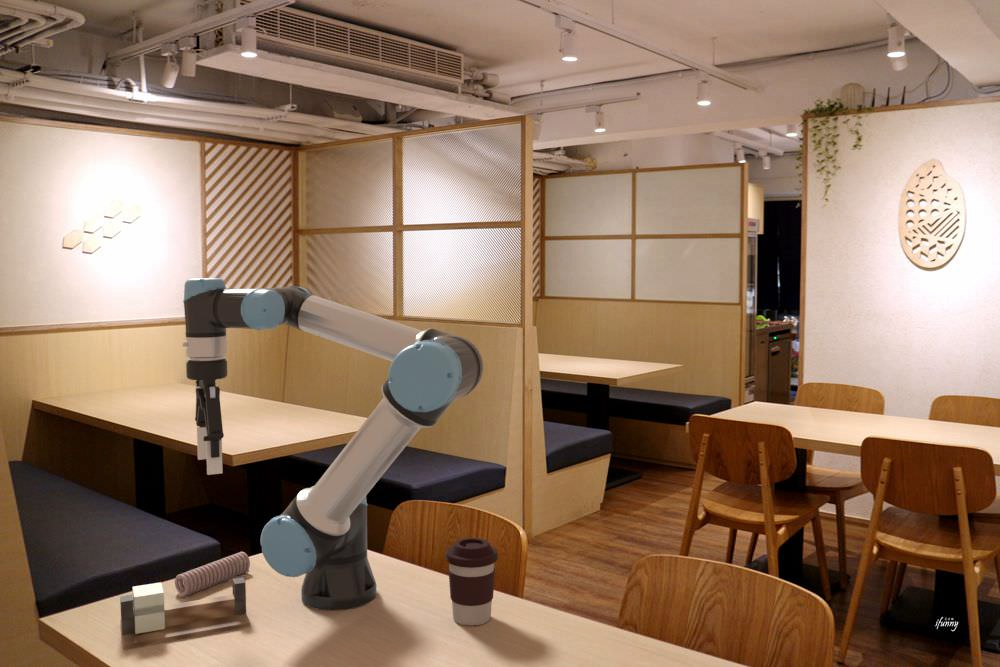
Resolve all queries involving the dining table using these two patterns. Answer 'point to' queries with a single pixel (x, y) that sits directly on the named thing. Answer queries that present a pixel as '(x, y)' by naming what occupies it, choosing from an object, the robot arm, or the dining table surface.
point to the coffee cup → (471, 580)
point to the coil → (212, 574)
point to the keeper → (148, 608)
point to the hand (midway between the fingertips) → (209, 466)
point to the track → (185, 631)
